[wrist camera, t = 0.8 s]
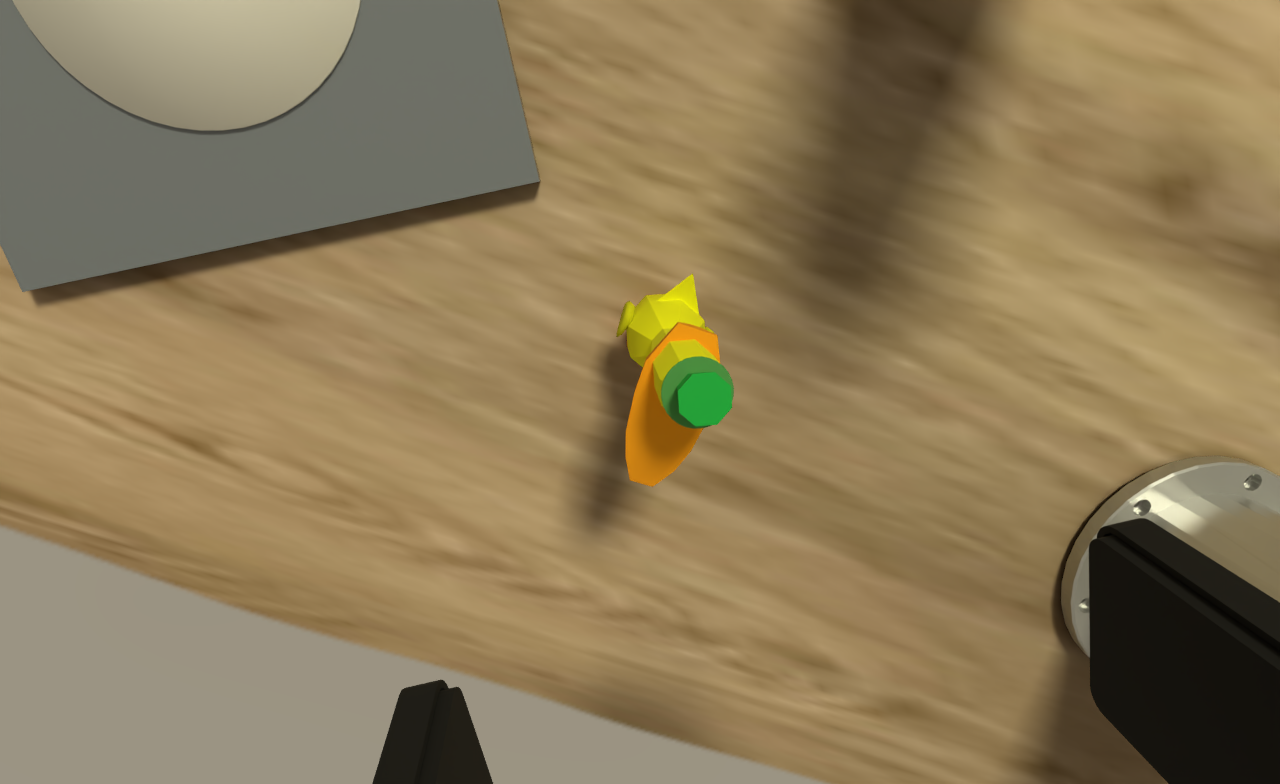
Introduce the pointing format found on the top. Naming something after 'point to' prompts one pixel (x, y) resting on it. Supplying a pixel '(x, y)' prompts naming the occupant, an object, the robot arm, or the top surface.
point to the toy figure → (671, 381)
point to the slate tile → (241, 122)
